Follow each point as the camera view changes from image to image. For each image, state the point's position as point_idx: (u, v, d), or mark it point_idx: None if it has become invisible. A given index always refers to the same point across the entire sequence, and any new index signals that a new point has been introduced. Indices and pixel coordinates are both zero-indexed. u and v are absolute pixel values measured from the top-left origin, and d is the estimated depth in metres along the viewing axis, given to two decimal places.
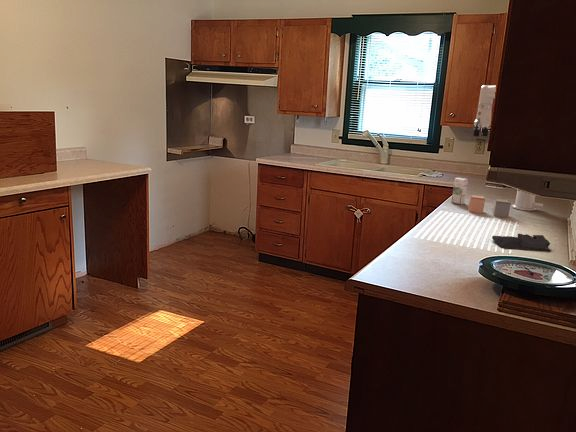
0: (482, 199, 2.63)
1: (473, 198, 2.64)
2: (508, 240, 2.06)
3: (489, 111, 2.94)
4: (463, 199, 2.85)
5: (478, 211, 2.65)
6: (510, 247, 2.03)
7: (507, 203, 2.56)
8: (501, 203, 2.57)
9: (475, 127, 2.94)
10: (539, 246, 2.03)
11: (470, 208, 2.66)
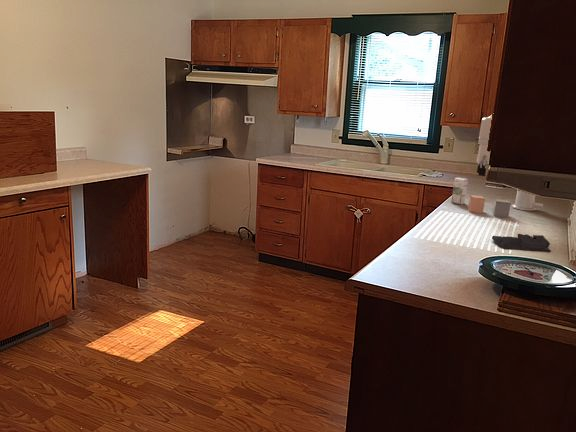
0: (482, 199, 2.63)
1: (473, 198, 2.64)
2: (508, 241, 2.05)
3: (480, 146, 2.60)
4: (463, 199, 2.85)
5: (478, 211, 2.65)
6: (510, 247, 2.02)
7: (507, 203, 2.56)
8: (501, 203, 2.57)
9: None
10: (538, 246, 2.03)
11: (470, 208, 2.66)
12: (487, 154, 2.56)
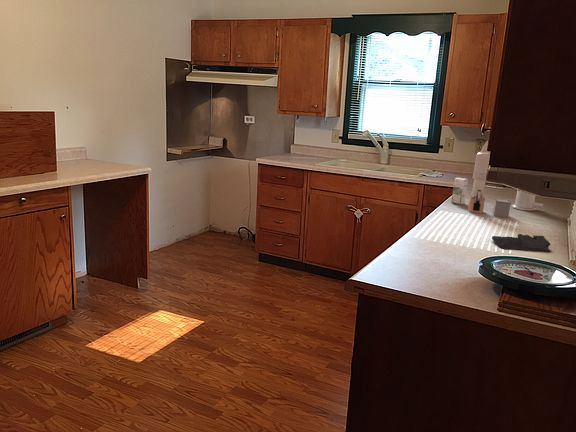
0: (482, 199, 2.63)
1: (473, 198, 2.64)
2: (508, 241, 2.05)
3: (474, 180, 2.64)
4: (463, 199, 2.85)
5: (478, 211, 2.65)
6: (510, 247, 2.02)
7: (507, 203, 2.56)
8: (501, 203, 2.57)
9: None
10: (538, 246, 2.03)
11: (470, 208, 2.66)
12: (482, 189, 2.61)
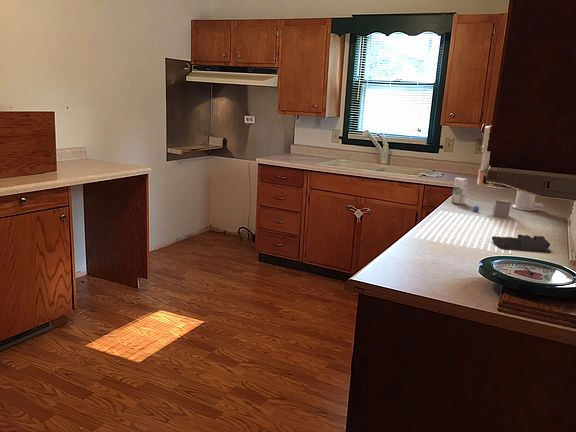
0: None
1: (482, 171, 2.67)
2: (507, 241, 2.05)
3: (483, 154, 2.67)
4: (463, 199, 2.85)
5: (488, 184, 2.67)
6: (509, 248, 2.01)
7: (507, 203, 2.56)
8: (501, 203, 2.57)
9: None
10: (538, 247, 2.02)
11: (480, 181, 2.68)
12: None
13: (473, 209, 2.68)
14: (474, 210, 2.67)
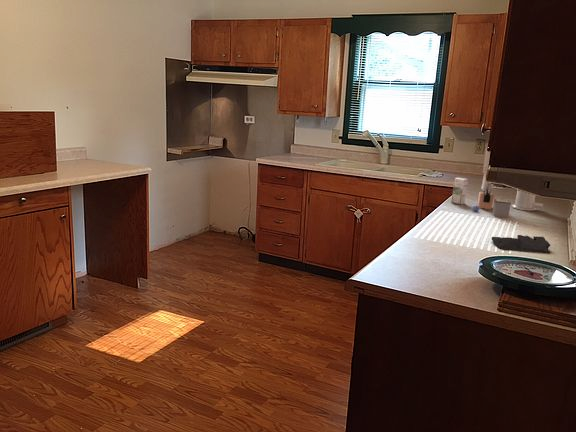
0: (491, 195, 2.75)
1: (482, 195, 2.76)
2: (507, 242, 2.04)
3: (484, 174, 2.75)
4: (463, 199, 2.85)
5: (488, 207, 2.77)
6: (509, 248, 2.01)
7: (507, 203, 2.56)
8: (501, 203, 2.57)
9: None
10: (538, 247, 2.01)
11: (479, 204, 2.77)
12: None
13: (473, 209, 2.68)
14: (474, 210, 2.67)
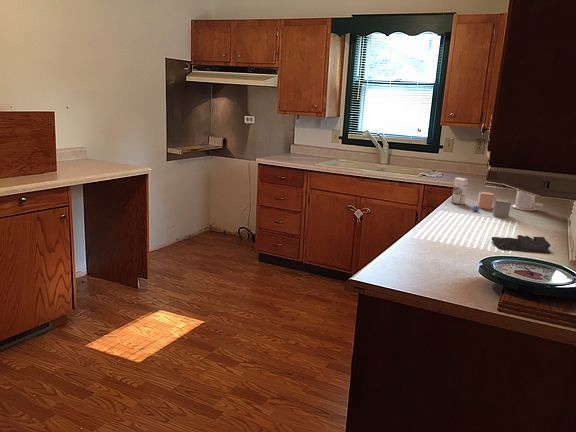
0: (491, 195, 2.75)
1: (482, 195, 2.76)
2: (507, 242, 2.04)
3: None
4: (463, 199, 2.85)
5: (488, 207, 2.77)
6: (508, 248, 2.01)
7: (507, 203, 2.56)
8: (501, 203, 2.57)
9: None
10: (538, 247, 2.01)
11: (479, 204, 2.77)
12: None
13: (473, 209, 2.68)
14: (474, 210, 2.67)
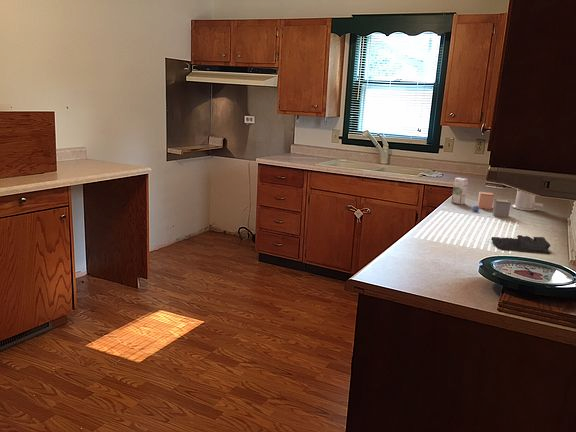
0: (491, 195, 2.75)
1: (482, 195, 2.76)
2: (506, 242, 2.04)
3: None
4: (463, 199, 2.85)
5: (488, 207, 2.77)
6: (508, 248, 2.00)
7: (507, 203, 2.56)
8: (501, 203, 2.57)
9: None
10: (538, 248, 2.01)
11: (479, 204, 2.77)
12: None
13: (473, 209, 2.68)
14: (474, 210, 2.67)
